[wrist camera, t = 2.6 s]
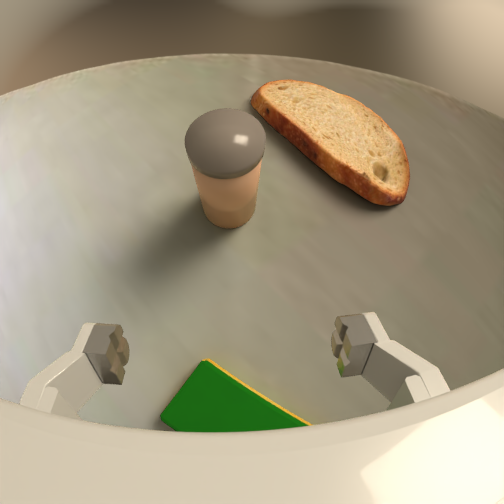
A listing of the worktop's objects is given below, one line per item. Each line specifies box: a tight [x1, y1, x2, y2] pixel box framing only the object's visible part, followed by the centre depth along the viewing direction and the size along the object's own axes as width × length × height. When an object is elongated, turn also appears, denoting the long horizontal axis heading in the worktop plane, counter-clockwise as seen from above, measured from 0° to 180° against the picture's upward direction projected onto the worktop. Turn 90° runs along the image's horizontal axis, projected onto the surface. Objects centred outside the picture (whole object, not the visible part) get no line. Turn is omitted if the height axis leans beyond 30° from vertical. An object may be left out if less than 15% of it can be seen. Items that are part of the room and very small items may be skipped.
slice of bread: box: [251, 80, 410, 206], centre depth 31 cm, size 18×18×4 cm
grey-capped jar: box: [185, 108, 266, 228], centre depth 24 cm, size 5×5×11 cm
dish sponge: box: [160, 359, 312, 432], centre depth 23 cm, size 7×14×2 cm, turn 54°
